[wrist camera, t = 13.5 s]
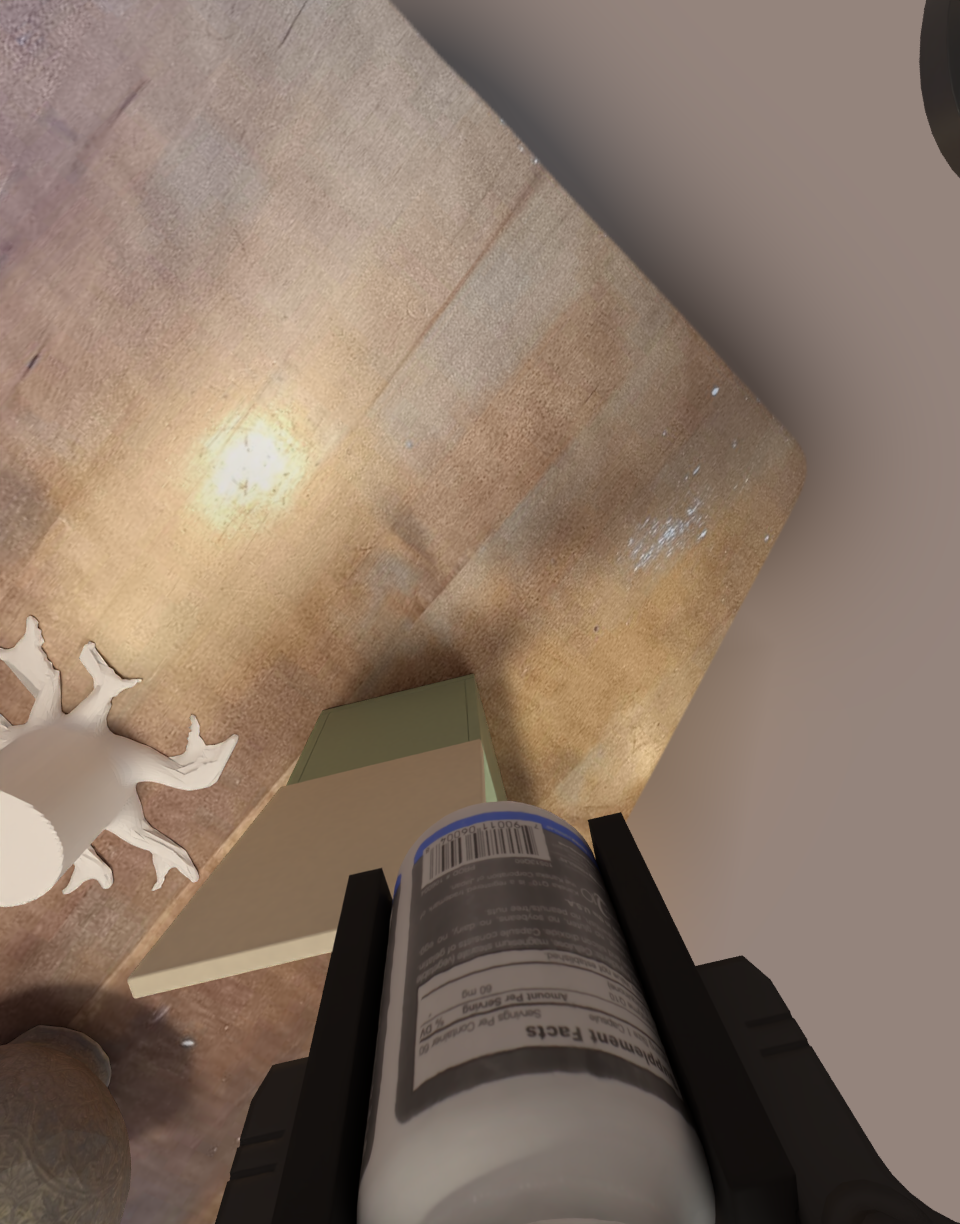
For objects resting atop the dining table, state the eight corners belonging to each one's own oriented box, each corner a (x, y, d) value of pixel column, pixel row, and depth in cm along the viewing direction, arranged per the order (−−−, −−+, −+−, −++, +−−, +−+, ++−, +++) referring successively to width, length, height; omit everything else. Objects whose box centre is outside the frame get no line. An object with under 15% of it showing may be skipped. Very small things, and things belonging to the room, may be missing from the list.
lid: (492, 915, 19) (486, 893, 19) (132, 1000, 19) (125, 979, 19) (483, 750, 34) (480, 738, 34) (284, 798, 34) (280, 786, 34)
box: (513, 822, 49) (530, 923, 39) (374, 856, 49) (354, 965, 39) (474, 673, 45) (481, 740, 35) (321, 710, 45) (284, 788, 35)
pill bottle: (534, 986, 14) (651, 1710, 6) (361, 921, 13) (227, 1662, 5) (636, 841, 13) (944, 1481, 5) (455, 760, 12) (471, 1375, 4)
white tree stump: (-23, 580, 41) (-155, 618, 32) (285, 745, 46) (246, 817, 37) (-130, 809, 45) (-271, 898, 36) (161, 935, 50) (100, 1041, 41)
